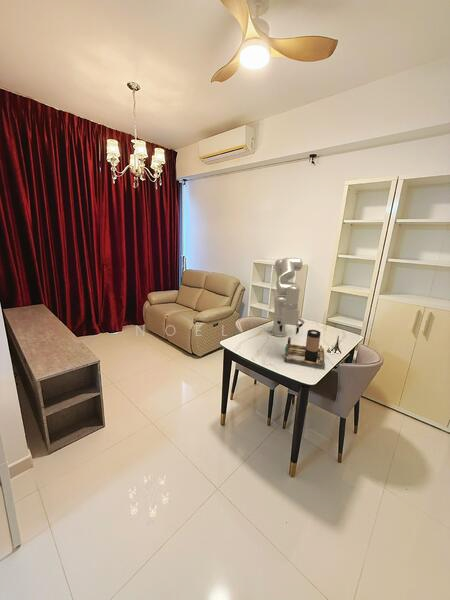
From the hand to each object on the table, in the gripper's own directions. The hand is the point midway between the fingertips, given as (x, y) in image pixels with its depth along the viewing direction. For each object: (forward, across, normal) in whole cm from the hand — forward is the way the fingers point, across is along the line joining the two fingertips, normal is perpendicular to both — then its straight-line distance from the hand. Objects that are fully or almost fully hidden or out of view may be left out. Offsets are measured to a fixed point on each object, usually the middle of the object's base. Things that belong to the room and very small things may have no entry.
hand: (288, 332), depth 154 cm
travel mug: (+18, +15, +1) cm, 23 cm away
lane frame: (+17, +10, +6) cm, 21 cm away
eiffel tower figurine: (+18, +31, +24) cm, 43 cm away
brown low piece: (+18, +10, +1) cm, 20 cm away
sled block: (+17, +10, +13) cm, 24 cm away
